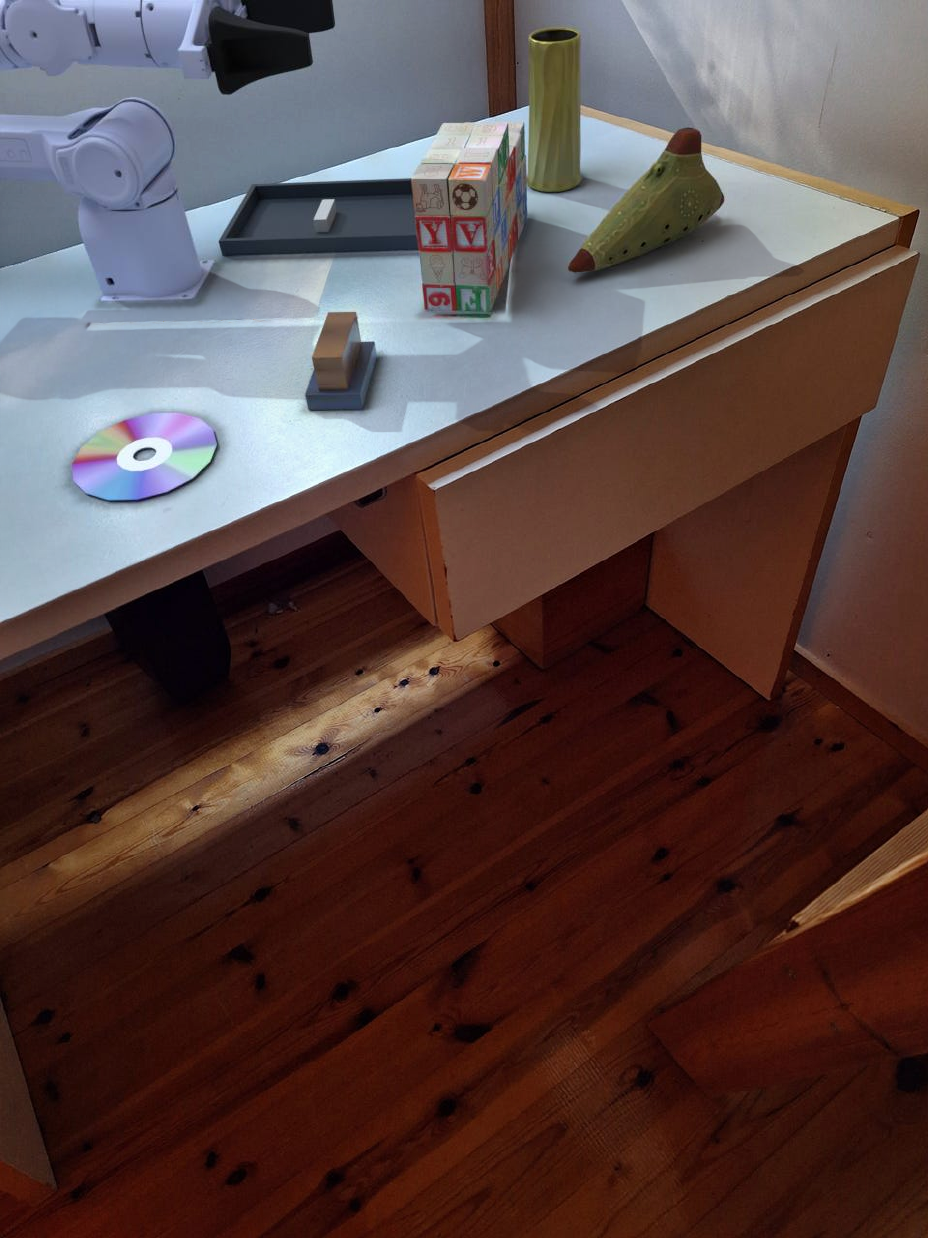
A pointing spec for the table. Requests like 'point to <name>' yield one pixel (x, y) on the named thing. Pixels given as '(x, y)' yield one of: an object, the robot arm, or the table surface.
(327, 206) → the chalk
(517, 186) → the stack of blocks
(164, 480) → the cd
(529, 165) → the vase
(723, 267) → the table surface
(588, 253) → the ocarina
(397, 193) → the tray
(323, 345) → the eraser
